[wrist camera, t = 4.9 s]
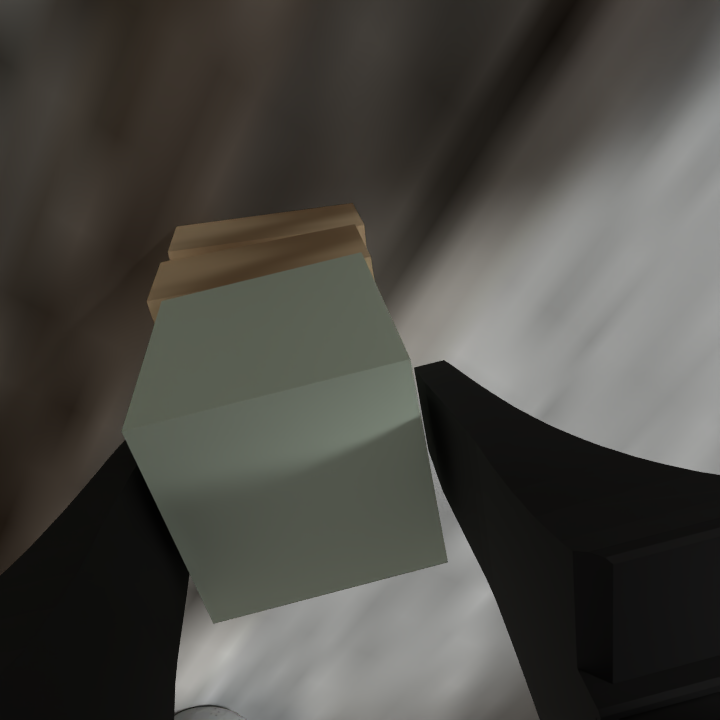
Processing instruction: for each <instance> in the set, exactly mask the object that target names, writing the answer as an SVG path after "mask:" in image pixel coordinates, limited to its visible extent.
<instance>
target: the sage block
mask: <svg viewBox="0 0 720 720" xmlns="http://www.w3.org/2000/svg"><path fill="white" fill-rule="evenodd" d="M122 434H123V436H124V438H125V440H126V442H127V444H128V446H129V448H130V450H131V452H132V454H133V456H134V459H135V461H136V463H137V465H138V467H139V469H140V471H141V473H142V475H143V477H144V479H145V482H146V484H147V486H148V488H149V490H150V492H151V494H152V496H153V498H154V500H155V502H156V505H157V507H158V509H159V511H160V513H161V515H162V517H163V519H164V521H165V523H166V525H167V528H168V530H169V532H170V534H171V536H172V538H173V540H174V542H175V544H176V546H177V548H178V550H179V553H180V555H181V557H182V559H183V561H184V563H185V565H186V567H187V569H188V571H189V573H190V576H191V578H192V580H193V582H194V584H195V586H196V588H197V590H198V592H199V594H200V596H201V599H202V601H203V603H204V605H205V607H206V609H207V611H208V613H209V615H210V617H211V619H212V621H213V624H214V623H218V622H222V621H226V620H229V619H233V618H237V617H241V616H245V615H249V614H252V613H256V612H260V611H264V610H268V609H271V608H275V607H279V606H283V605H287V604H291V603H294V602H298V601H302V600H306V599H310V598H313V597H317V596H321V595H325V594H329V593H333V592H336V591H340V590H344V589H348V588H352V587H355V586H359V585H363V584H367V583H371V582H374V581H378V580H382V579H386V578H390V577H394V576H397V575H401V574H405V573H409V572H413V571H416V570H420V569H424V568H428V567H432V566H436V565H439V564H443V563H447V562H448V561H447V555H446V550H445V544H444V539H443V534H442V528H441V523H440V517H439V512H438V507H437V501H436V496H435V490H434V485H433V480H432V474H431V469H430V463H429V458H428V453H427V447H426V442H425V436H424V431H423V426H422V420H421V415H420V409H419V404H418V399H417V393H416V388H415V382H414V377H413V371H412V366H411V361H410V358H409V355H408V353H407V351H406V349H405V347H404V344H403V342H402V340H401V338H400V336H399V333H398V331H397V329H396V327H395V325H394V322H393V320H392V318H391V316H390V314H389V312H388V309H387V307H386V305H385V303H384V301H383V298H382V296H381V294H380V292H379V290H378V287H377V285H376V283H375V281H374V279H373V276H372V274H371V272H370V270H369V268H368V266H367V263H366V261H365V259H364V257H363V255H362V252H360V253H356V254H352V255H348V256H344V257H339V258H335V259H331V260H327V261H323V262H319V263H315V264H311V265H307V266H303V267H299V268H295V269H290V270H286V271H282V272H278V273H274V274H270V275H266V276H262V277H258V278H254V279H250V280H245V281H241V282H237V283H233V284H229V285H225V286H221V287H217V288H213V289H209V290H205V291H201V292H196V293H192V294H188V295H184V296H180V297H176V298H172V299H168V300H164V301H161V305H160V308H159V311H158V314H157V318H156V321H155V324H154V327H153V331H152V334H151V337H150V340H149V344H148V347H147V350H146V353H145V357H144V360H143V363H142V366H141V370H140V373H139V376H138V379H137V383H136V386H135V389H134V393H133V396H132V399H131V402H130V406H129V409H128V412H127V415H126V419H125V422H124V425H123V428H122Z"/></svg>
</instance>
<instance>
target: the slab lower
mask: <svg viewBox="0 0 720 720" xmlns="http://www.w3.org/2000/svg"><path fill="white" fill-rule="evenodd" d="M353 224H355V225H356V228H357V230H358V232H359V234H360V236H361V238H362V240H363V242H364V244H365V246H366V238H365V227H364V223H363V222H362V220H361V218H360V216H359V214H358V212H357V210H356V209H355V207H354V205H353V203H349V204H341V205H334V206H326V207H319V208H311V209H304V210H296V211H289V212H281V213H274V214H266V215H259V216H252V217H244V218H237V219H229V220H222V221H214V222H207V223H199V224H192V225H184V226H177V227H176V229H175V232H174V235H173V238H172V241H171V244H170V247H169V250H168V255H169V259H170V260H175V259H180V258H185V257H191V256H196V255H201V254H206V253H211V252H216V251H221V250H226V249H231V248H236V247H241V246H246V245H251V244H256V243H261V242H267V241H272V240H277V239H282V238H287V237H292V236H297V235H302V234H307V233H312V232H317V231H322V230H327V229H332V228H337V227H342V226H348V225H353Z"/></svg>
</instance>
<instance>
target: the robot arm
mask: <svg viewBox="0 0 720 720" xmlns="http://www.w3.org/2000/svg"><path fill="white" fill-rule="evenodd" d="M414 370H415V376H416V382H417V387H418V393H419V399H420V404H421V410H422V416H423V421H424V427H425V433H426V439H427V444H428V450H429V453H430V456H431V459H432V461H433V464H434V467H435V470H436V473H437V476H438V479H439V482H440V484H441V487H442V490H443V492H444V494H445V496H446V498H447V500H448V502H449V504H450V507H451V509H452V511H453V513H454V515H455V517H456V519H457V521H458V523H459V525H460V527H461V529H462V531H463V533H464V535H465V537H466V539H467V541H468V543H469V545H470V547H471V549H472V551H473V553H474V555H475V557H476V559H477V561H478V563H479V565H480V567H481V569H482V571H483V573H484V575H485V577H486V579H487V581H488V583H489V585H490V588H491V590H492V592H493V594H494V597H495V599H496V601H497V604H498V607H499V609H500V612H501V615H502V617H503V620H504V623H505V625H506V628H507V631H508V633H509V636H510V639H511V641H512V644H513V647H514V649H515V652H516V655H517V658H518V660H519V663H520V666H521V668H522V671H523V674H524V677H525V679H526V682H527V685H528V688H529V690H530V693H531V696H532V699H533V701H534V704H535V707H536V710H537V713H538V716H539V718H540V720H720V475H716V474H709V473H703V472H698V471H692V470H688V469H683V468H679V467H674V466H670V465H665V464H661V463H657V462H653V461H649V460H645V459H642V458H638V457H634V456H631V455H628V454H625V453H621V452H618V451H615V450H612V449H609V448H606V447H602V446H600V445H597V444H594V443H591V442H588V441H586V440H583V439H581V438H578V437H576V436H574V435H571V434H569V433H566V432H564V431H562V430H559V429H557V428H555V427H552V426H550V425H548V424H546V423H544V422H542V421H540V420H538V419H536V418H534V417H532V416H530V415H529V414H527V413H525V412H523V411H521V410H519V409H517V408H516V407H514V406H512V405H510V404H509V403H507V402H506V401H504V400H502V399H501V398H499V397H497V396H496V395H494V394H493V393H491V392H490V391H488V390H487V389H485V388H484V387H482V386H481V385H479V384H478V383H476V382H475V381H473V380H472V379H470V378H469V377H468V376H466V375H465V374H463V373H462V372H461V371H459V370H458V369H456V368H455V367H453V366H452V365H451V364H449V363H448V362H446V361H444V360H443V361H439V362H435V363H431V364H427V365H423V366H419V367H415V368H414ZM188 581H189V571H188V569H187V567H186V565H185V563H184V561H183V559H182V557H181V555H180V553H179V550H178V548H177V546H176V544H175V542H174V540H173V538H172V536H171V534H170V532H169V530H168V528H167V525H166V523H165V521H164V519H163V517H162V515H161V513H160V511H159V509H158V507H157V505H156V502H155V500H154V498H153V496H152V494H151V492H150V490H149V488H148V486H147V484H146V482H145V479H144V477H143V475H142V473H141V471H140V469H139V467H138V465H137V463H136V461H135V459H134V456H133V454H132V452H131V450H130V448H129V446H128V444H127V442H126V440H125V441H124V442H123V443H122V444H121V445H120V446H119V447H118V448H117V449H116V451H115V452H114V453H113V454H112V455H111V456H110V458H109V459H108V460H107V461H106V462H105V464H104V465H103V466H102V467H101V468H100V469H99V471H98V472H97V473H96V474H95V475H94V477H93V478H92V479H91V480H90V481H89V483H88V484H87V485H86V486H85V487H84V488H83V490H82V491H81V492H80V493H79V494H78V495H77V497H76V498H75V499H74V500H73V501H72V502H71V504H70V505H69V506H68V507H67V508H66V509H65V510H64V511H63V513H62V514H61V515H60V516H59V517H58V518H57V519H56V520H55V521H54V522H53V523H52V524H51V525H50V526H49V528H48V529H47V530H46V531H45V532H44V533H43V534H42V535H41V536H40V537H39V538H38V539H37V540H36V542H35V543H34V544H33V545H32V546H31V547H30V548H29V549H28V550H27V551H26V552H25V553H24V554H23V555H22V556H21V557H20V558H19V559H18V560H17V561H15V562H14V563H13V564H12V565H11V566H10V567H9V568H8V569H7V570H6V571H5V572H4V573H3V574H1V575H0V720H174V705H175V680H176V670H177V659H178V652H179V645H180V638H181V631H182V624H183V617H184V610H185V603H186V596H187V588H188Z"/></svg>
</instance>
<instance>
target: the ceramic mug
mask: <svg viewBox="0 0 720 720" xmlns="http://www.w3.org/2000/svg"><path fill="white" fill-rule="evenodd" d="M174 720H247V719H245V718H243V717H241V716H240V715H239V714H238V713H236V712H234V711H231V710H228V709H224V708H219V707H196V708H191V709H188V710H185V711H182V712H180V713H178V714H177V715H175V716H174Z"/></svg>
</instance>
